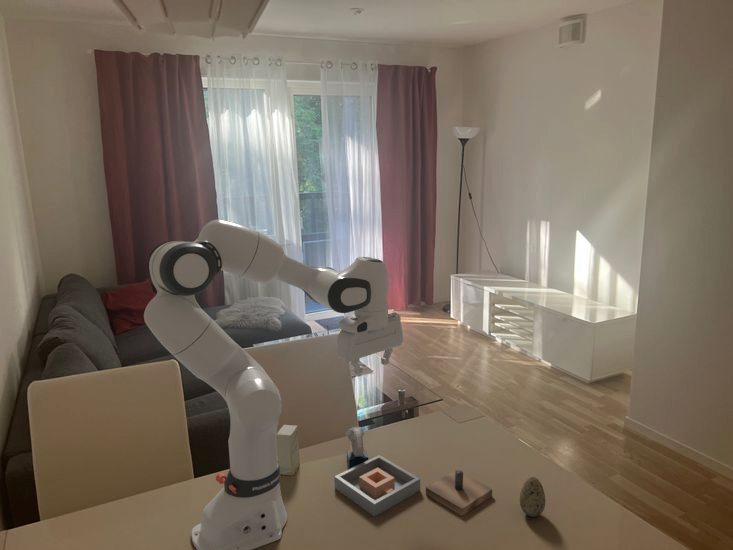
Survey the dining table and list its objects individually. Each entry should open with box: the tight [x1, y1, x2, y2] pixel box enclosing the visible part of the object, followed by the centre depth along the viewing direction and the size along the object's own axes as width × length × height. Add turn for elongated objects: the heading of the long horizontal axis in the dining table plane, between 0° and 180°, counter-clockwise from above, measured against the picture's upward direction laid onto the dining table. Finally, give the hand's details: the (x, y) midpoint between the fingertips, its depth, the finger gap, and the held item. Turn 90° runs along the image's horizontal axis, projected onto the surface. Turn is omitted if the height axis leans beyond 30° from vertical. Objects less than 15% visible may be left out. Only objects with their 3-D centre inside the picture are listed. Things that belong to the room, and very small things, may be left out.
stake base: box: [425, 469, 493, 517], centre depth 139 cm, size 12×12×6 cm
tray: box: [334, 454, 421, 518], centre depth 142 cm, size 16×16×4 cm
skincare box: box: [276, 424, 301, 476], centre depth 152 cm, size 6×4×12 cm
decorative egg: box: [519, 476, 546, 518], centre depth 131 cm, size 6×6×10 cm
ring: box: [359, 468, 395, 498], centre depth 142 cm, size 7×9×3 cm
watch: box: [345, 426, 369, 470], centre depth 154 cm, size 6×8×11 cm
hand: (372, 368), depth 143 cm, fingers open, 8 cm apart
